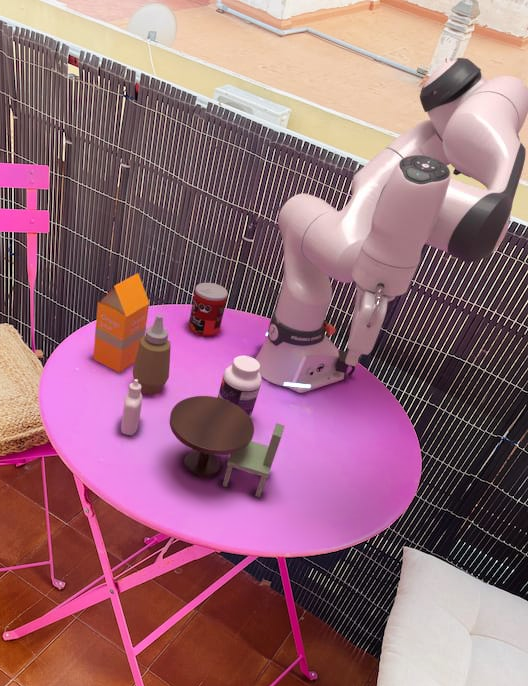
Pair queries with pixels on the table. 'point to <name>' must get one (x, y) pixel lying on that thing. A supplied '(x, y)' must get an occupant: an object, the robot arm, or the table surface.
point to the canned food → (207, 309)
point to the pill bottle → (241, 383)
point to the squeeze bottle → (153, 359)
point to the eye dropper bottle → (132, 409)
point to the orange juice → (121, 324)
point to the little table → (210, 431)
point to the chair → (256, 458)
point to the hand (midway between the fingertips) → (352, 348)
